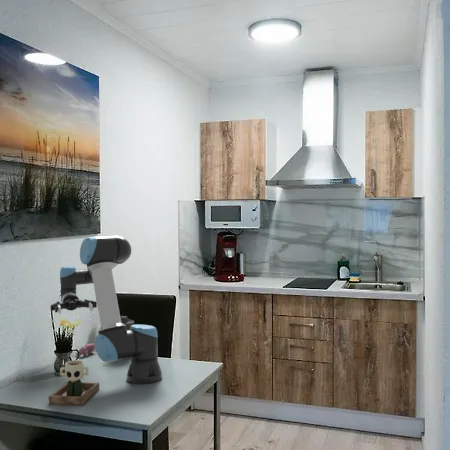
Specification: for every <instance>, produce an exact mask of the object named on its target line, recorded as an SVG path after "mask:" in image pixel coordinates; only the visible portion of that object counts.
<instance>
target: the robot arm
mask: <svg viewBox="0 0 450 450" xmlns="http://www.w3.org/2000/svg"><path fill="white" fill-rule="evenodd" d="M131 255H132V246H131V243H130V242H129V241H128V240H127V239H126V238H124V237H123V236H119V235H108V236H107V235H106V236H95V235H94V236H90V237H86V238H84V239H83V241H81V245H80V248H79V260H80V262H81V264H83V265H85V266H86V267H87V268H84V269H83V268H82V269H81V268H79V269H77V268H76V266H72V265H70V266H69V265H68V266H67V265H65V266H62V267H61V268H60V269H61V270H59V280H60V281H59V283H60V284H61V287H60V288H61V290H60V289H59V290H60V293H61V295H60V294H59V297H60V296H61V301H60V300H58V301H56V302H54V303H52V304H50V311H51V312H53V311H54V312H55V313H58V314H62V310H64V309H65V310H67V311H75V310H76V309H77V308H78V309H80V308H87V309H89V311H90V312H92V311H94V308H95V309H96V308H97V312H98V317H99V323H100V328H99V329H98V330H97V333H98V334H97V335H96V336H95V338H94V345H95V352H96V354H97V356H98V358H99V359H100V360H102V361H103V362H105V363H109V362H110V363H111V362H117V361H122V360H126V359H127V358H128V359H130V363H129V367H128V369H127V373H126V381H127V382H129V383H132V384H140V385H141V384H142V385H143V384H146V385H147V384H152V383H156V382H159V381H160V380H162V378H163V372H162V369H161V365H160V364H159V358H158V356H159V355H158V354H159V353H158V338H159V335H158V329H157V327H155V326H153V325H148V324H134V325H131V326H130V330H126V325H124V324H123V323H122V322H121V318H120V317H121V314H120V308H119V307H120V306H119V304H118V303H119V302H118V296H117V292H116V291H117V290H116V286H115V280H114V279H115V278H114V274H113V269H115V267H117V266H118V265H121V264H124V263H125V262H127V261H128V260H129V259H130V257H131ZM89 284H90V285H91V284H93V289H94V293H95V294H94V295H95V298H96V299H95V301H94V300H89V299H84V300H81V299H80V298H79V297H78V295H77V285H78V286H79V285H89ZM61 302H62V303H61Z"/></svg>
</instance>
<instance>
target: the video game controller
mask: <svg viewBox="0 0 450 450" xmlns="http://www.w3.org/2000/svg"><path fill="white" fill-rule="evenodd" d="M78 351H79V356H78ZM78 351H77V352H76V357H81V356H84V357H86V356H87V355H91V354H92V353H93V352H94V351H96V349H95V343H86V344H85V345H83V346H82V347H81V348H80V349H79V350H78Z"/></svg>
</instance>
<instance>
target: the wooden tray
mask: <svg viewBox="0 0 450 450" xmlns="http://www.w3.org/2000/svg"><path fill="white" fill-rule="evenodd" d="M81 383H82V390H83V393H82V395H79V396H74V395H72V396H67V384H68V381H67V382H65V383H64V384H63V385H62V386H60V387H59V388H58V389H57V390H55V391H54V392H53V393H51V394H50V395H49V396H48V405H54V406H56V405H59V406H80V407H81V406H82V407H83V406H84V405H85V404H86V403H87V402H89V400H91V399H92V397H93V396H95V395H96V394H97V393H98V392H99V391H100V382H93V381H92V382H91V381H90V382H89V381H87V382H86V381H81Z"/></svg>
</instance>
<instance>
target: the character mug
mask: <svg viewBox="0 0 450 450" xmlns="http://www.w3.org/2000/svg"><path fill="white" fill-rule="evenodd" d="M84 371H85V372H84ZM63 372H64V373H63ZM59 375H60V376H61V377H64V378H65V380H66V381H67V382H68V384H67V396H72V395H74V396H79V395H82V393H83V390H82V383H81V382H82V379H83V378H84V377H85V376H88V375H89V367H88V366H84V360H83V361H82V360H80V359H74V360H69V361H66V362H65V363H64V366H63V367H60V369H59Z"/></svg>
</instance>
